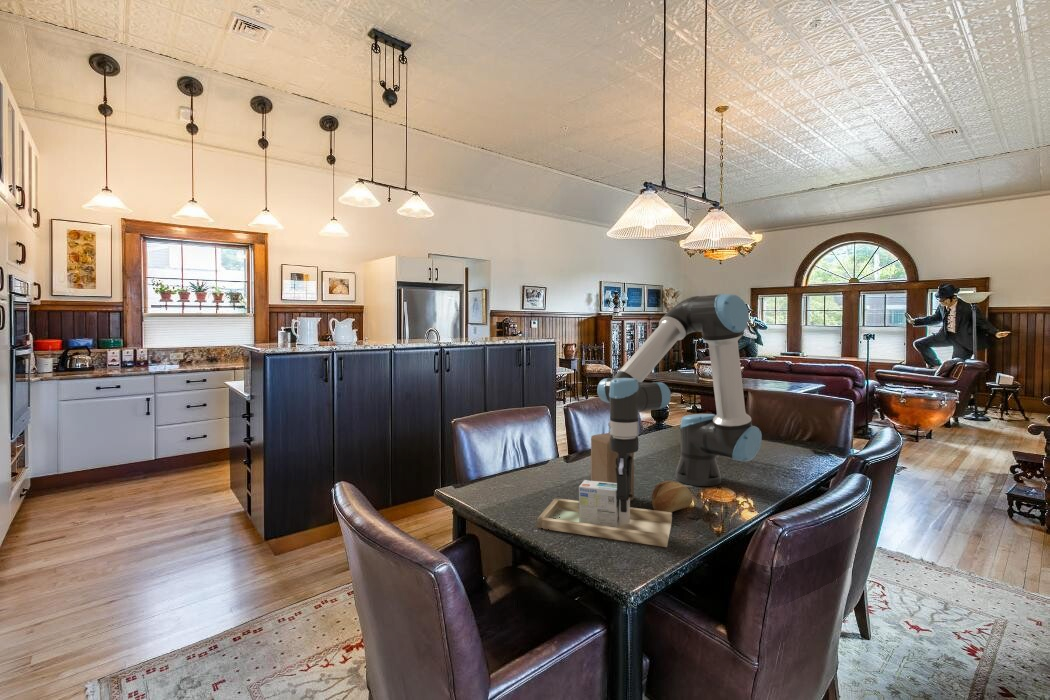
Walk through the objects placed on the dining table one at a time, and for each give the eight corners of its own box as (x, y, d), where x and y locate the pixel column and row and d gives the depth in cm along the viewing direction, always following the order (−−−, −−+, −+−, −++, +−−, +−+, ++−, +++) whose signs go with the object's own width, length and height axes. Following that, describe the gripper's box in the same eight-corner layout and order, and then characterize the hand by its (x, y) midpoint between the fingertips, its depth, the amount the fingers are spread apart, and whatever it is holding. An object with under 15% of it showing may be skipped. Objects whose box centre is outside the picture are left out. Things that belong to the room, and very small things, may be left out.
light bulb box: (621, 520, 133) (621, 482, 133) (617, 530, 127) (617, 490, 127) (584, 515, 137) (583, 478, 137) (578, 524, 131) (578, 486, 130)
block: (609, 506, 144) (609, 441, 143) (590, 496, 153) (589, 434, 152) (635, 500, 149) (634, 437, 148) (615, 491, 157) (614, 431, 156)
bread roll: (642, 511, 140) (642, 484, 140) (671, 499, 150) (671, 474, 149) (670, 521, 133) (670, 493, 133) (699, 507, 142) (699, 481, 142)
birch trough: (671, 522, 133) (671, 512, 132) (666, 548, 117) (666, 537, 117) (555, 507, 145) (555, 498, 145) (537, 529, 129) (536, 518, 129)
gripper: (614, 430, 135) (614, 511, 136) (605, 440, 123) (606, 529, 124) (641, 431, 133) (641, 514, 134) (634, 442, 120) (635, 533, 122)
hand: (624, 522), depth 129 cm, fingers closed
